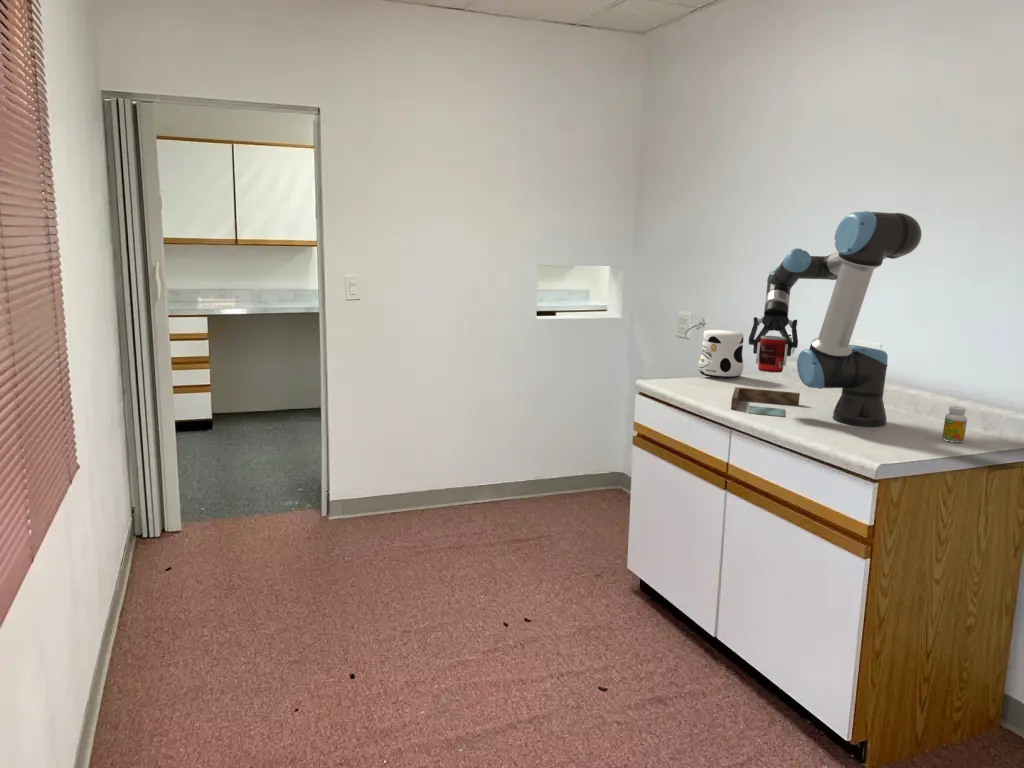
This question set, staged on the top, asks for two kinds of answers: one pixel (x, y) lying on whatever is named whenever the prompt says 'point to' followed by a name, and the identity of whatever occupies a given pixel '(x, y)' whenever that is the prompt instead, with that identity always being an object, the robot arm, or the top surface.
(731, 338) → the milk container
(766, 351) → the canned food
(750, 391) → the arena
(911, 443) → the top surface
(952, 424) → the supplement bottle
